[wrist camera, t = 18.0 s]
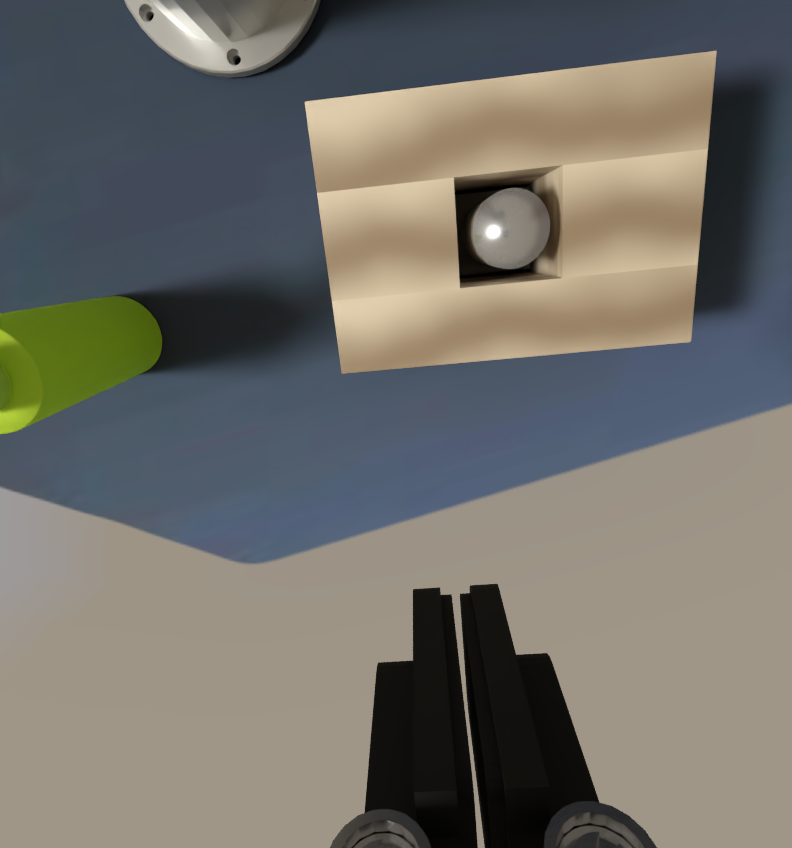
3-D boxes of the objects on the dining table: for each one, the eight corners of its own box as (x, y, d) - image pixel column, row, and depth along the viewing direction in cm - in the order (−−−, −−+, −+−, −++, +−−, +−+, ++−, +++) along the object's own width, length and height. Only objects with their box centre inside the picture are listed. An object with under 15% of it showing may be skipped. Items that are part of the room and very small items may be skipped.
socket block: (329, 135, 33) (304, 101, 26) (644, 97, 32) (716, 50, 24) (355, 348, 38) (341, 373, 30) (633, 322, 36) (690, 341, 29)
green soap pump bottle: (165, 291, 37) (-97, 336, 18) (160, 382, 39) (-78, 508, 20) (83, 273, 36) (-270, 300, 18) (83, 366, 39) (-232, 478, 20)
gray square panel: (449, 196, 34) (450, 195, 33) (526, 188, 33) (529, 186, 32) (454, 275, 35) (455, 276, 34) (527, 268, 35) (530, 268, 34)
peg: (459, 203, 33) (471, 192, 26) (522, 196, 33) (549, 183, 26) (463, 267, 34) (475, 272, 28) (523, 261, 34) (550, 265, 27)
